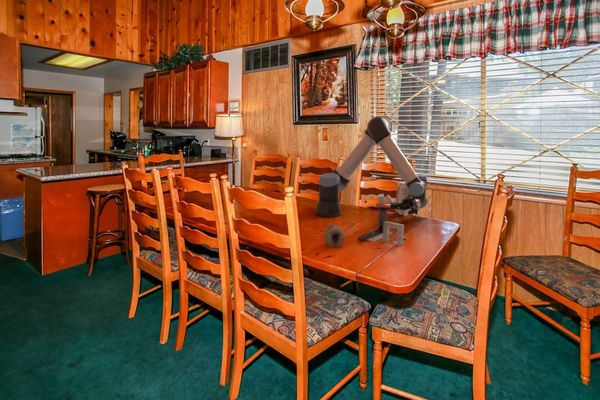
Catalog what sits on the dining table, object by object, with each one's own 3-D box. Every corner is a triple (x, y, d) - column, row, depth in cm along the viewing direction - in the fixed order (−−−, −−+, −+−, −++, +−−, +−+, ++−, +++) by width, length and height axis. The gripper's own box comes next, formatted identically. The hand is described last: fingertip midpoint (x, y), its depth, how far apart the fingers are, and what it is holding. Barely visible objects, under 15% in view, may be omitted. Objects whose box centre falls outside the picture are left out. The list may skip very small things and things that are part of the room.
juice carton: (394, 212, 230) (396, 181, 226) (407, 211, 231) (410, 181, 227) (398, 215, 222) (400, 183, 219) (412, 214, 223) (415, 183, 219)
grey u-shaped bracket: (380, 241, 173) (381, 222, 172) (385, 239, 177) (386, 220, 175) (399, 245, 167) (400, 226, 166) (404, 243, 171) (405, 224, 169)
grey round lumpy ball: (324, 249, 169) (317, 228, 169) (338, 243, 173) (332, 222, 173) (336, 249, 161) (329, 227, 160) (351, 242, 165) (344, 221, 165)
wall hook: (397, 209, 235) (394, 193, 233) (381, 212, 237) (377, 196, 236) (397, 206, 242) (394, 191, 241) (380, 209, 245) (377, 194, 243)
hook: (353, 239, 174) (354, 209, 171) (378, 229, 192) (380, 201, 189) (366, 243, 170) (368, 212, 167) (391, 231, 187) (393, 203, 184)
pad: (357, 237, 178) (357, 237, 178) (376, 229, 192) (376, 229, 192) (374, 241, 173) (374, 241, 173) (392, 233, 186) (392, 232, 186)
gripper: (432, 215, 201) (414, 223, 185) (389, 207, 217) (370, 214, 201) (433, 201, 199) (415, 208, 183) (390, 195, 215) (370, 200, 200)
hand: (392, 211), depth 192 cm, fingers open, 13 cm apart
